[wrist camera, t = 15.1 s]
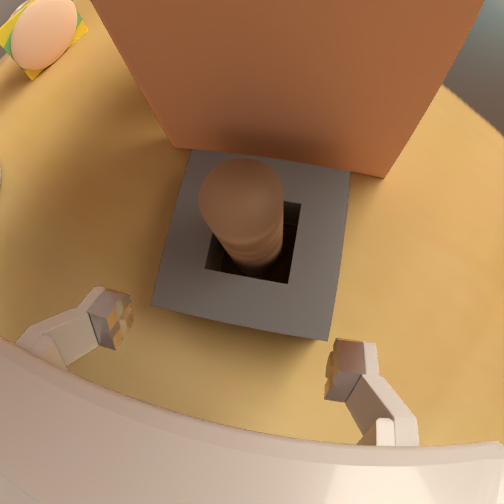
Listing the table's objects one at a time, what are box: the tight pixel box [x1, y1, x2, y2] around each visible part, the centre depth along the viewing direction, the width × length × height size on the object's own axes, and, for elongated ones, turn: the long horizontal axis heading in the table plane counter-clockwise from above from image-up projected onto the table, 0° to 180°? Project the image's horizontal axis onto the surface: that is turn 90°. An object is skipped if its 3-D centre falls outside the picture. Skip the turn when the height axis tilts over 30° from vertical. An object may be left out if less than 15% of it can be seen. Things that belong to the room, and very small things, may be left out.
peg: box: [198, 158, 283, 277], centre depth 21 cm, size 4×4×12 cm
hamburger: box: [0, 0, 88, 81], centre depth 31 cm, size 12×8×12 cm
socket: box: [151, 149, 351, 341], centre depth 24 cm, size 12×12×5 cm
